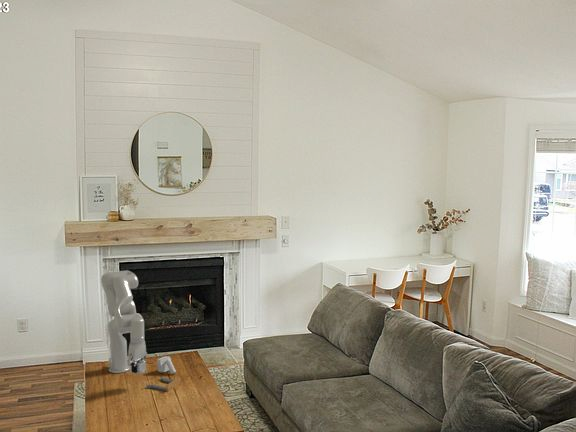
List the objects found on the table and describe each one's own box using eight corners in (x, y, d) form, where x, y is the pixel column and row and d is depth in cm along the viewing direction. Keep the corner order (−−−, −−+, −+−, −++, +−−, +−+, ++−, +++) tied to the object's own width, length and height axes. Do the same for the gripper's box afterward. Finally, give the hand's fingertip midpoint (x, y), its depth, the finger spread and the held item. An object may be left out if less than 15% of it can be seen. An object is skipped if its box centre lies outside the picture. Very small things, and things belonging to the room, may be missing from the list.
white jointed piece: (170, 376, 335) (167, 359, 335) (159, 376, 341) (156, 359, 341) (180, 371, 341) (177, 355, 341) (169, 372, 347) (166, 355, 348)
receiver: (145, 387, 319) (145, 382, 319) (161, 379, 332) (161, 373, 331) (166, 392, 313) (166, 386, 312) (182, 383, 325) (182, 377, 325)
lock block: (129, 371, 319) (129, 360, 318) (136, 368, 324) (136, 357, 323) (139, 374, 316) (139, 363, 315) (146, 370, 321) (145, 359, 320)
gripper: (142, 333, 326) (142, 363, 329) (121, 343, 311) (122, 374, 314) (152, 336, 323) (153, 366, 326) (132, 345, 308) (132, 377, 311)
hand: (137, 370), depth 320 cm, fingers closed on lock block, 5 cm apart
